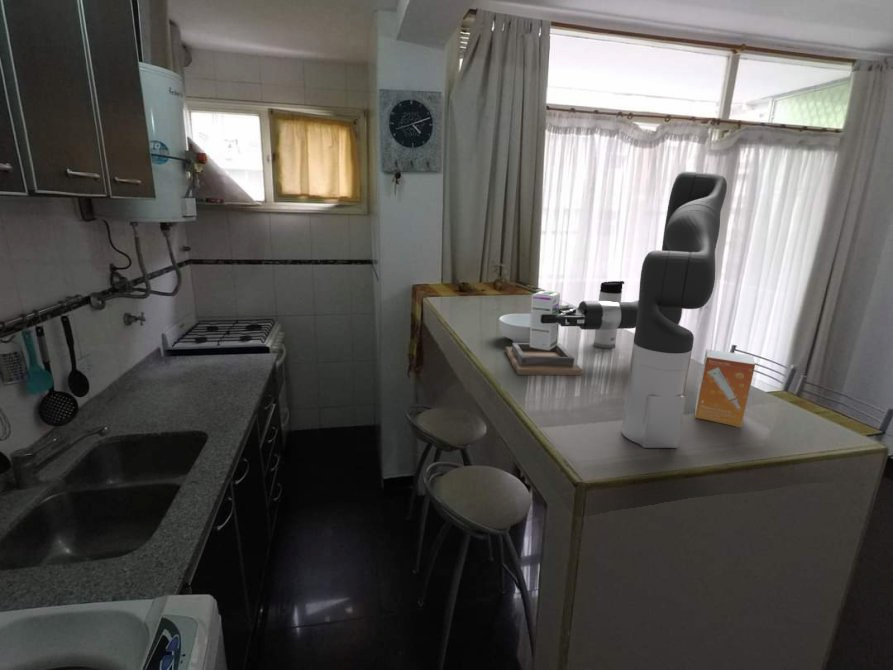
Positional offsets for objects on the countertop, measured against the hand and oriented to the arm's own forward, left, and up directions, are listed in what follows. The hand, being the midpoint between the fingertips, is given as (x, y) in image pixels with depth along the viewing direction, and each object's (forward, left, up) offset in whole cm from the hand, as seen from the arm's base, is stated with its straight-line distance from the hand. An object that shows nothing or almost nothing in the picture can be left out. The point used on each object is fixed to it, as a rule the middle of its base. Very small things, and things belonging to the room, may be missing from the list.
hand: (537, 315), depth 118 cm
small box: (-33, -30, -13) cm, 46 cm away
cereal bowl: (+21, -2, -13) cm, 25 cm away
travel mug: (+17, -26, -13) cm, 34 cm away
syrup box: (0, -2, -9) cm, 9 cm away
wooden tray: (0, -2, -13) cm, 13 cm away
